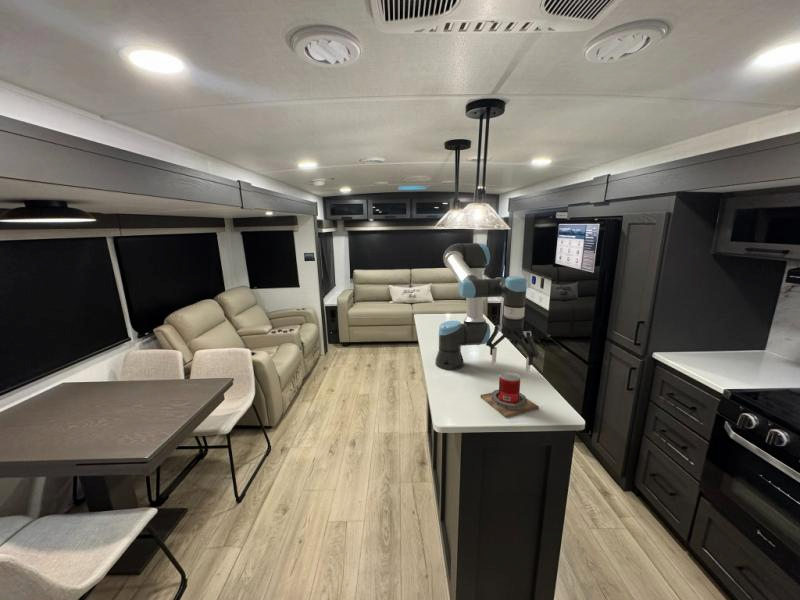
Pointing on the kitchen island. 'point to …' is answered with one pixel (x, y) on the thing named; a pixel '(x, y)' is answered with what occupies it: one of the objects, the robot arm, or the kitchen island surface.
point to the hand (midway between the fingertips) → (510, 367)
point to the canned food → (509, 387)
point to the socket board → (507, 411)
